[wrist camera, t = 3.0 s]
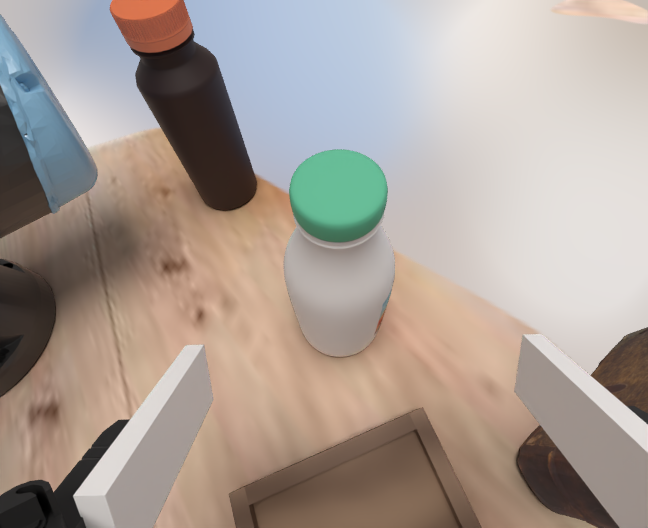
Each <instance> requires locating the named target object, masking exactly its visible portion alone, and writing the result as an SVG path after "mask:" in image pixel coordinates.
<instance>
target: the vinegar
mask: <svg viewBox="0 0 648 528" xmlns="http://www.w3.org/2000/svg"><path fill="white" fill-rule="evenodd" d="M110 12H111V14H112V16H113V18H114V20H115V22H116V23H117V25H118V27H119V29H120V30H121V33H122V35H123V36H124V38H125V40H126V42H127V44H128V45H129V46H130V48H131V50H132V51H133V52H134V53H135V54H136V55H138V56H139V57H140V62H139V65H138V68H137V71H136V75H135V76H136V83H137V87H138V89H139V91H140V92H141V94H142V96H143V97H144V99H145V101H146V102H147V104H148V106H149V108H150V110H151V111H152V113H153V115H154V116H155V118H156V120H157V121H158V123H159V125H160V127H161V128H162V130H163V132H164V134H165V135H166V137H167V139H168V141H169V142H170V144H171V146H172V147H173V149H174V151H175V153H176V154H177V156H178V158H179V159H180V161H181V163H182V165H183V166H184V168H185V170H186V171H187V173H188V175H189V177H190V178H191V180H192V182H193V183H194V185H195V187H196V189H197V190H198V192H199V194H200V196H201V197H202V199H203V200H204V201H205V203H206V204H208V205H209V206H211V207H213V208H215V209H220V210H231V209H234V208H237V207H240V206H242V205H243V204H245V203H247V202H248V201H249V200H250V199H251V198H252V196H253V195H254V193H255V190H256V183H257V181H256V178H255V175H254V172H253V169H252V165H251V163H250V159H249V156H248V154H247V150H246V147H245V144H244V141H243V138H242V135H241V132H240V129H239V126H238V123H237V120H236V117H235V114H234V111H233V108H232V105H231V102H230V99H229V96H228V93H227V90H226V87H225V84H224V80H223V77H222V74H221V72H220V68H219V65H218V62H217V60H216V58H215V56H214V55H213V54H212V53H211V52H210V51H208V50H207V49H206V48H204V47H203V46H201V45H199V44H197V43H196V42H194V41H193V38H194V31H193V26H192V23H191V20H190V17H189V15H188V12H187V9H186V6H185V3H184V0H113V1H112V2H111V5H110Z"/></svg>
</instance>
